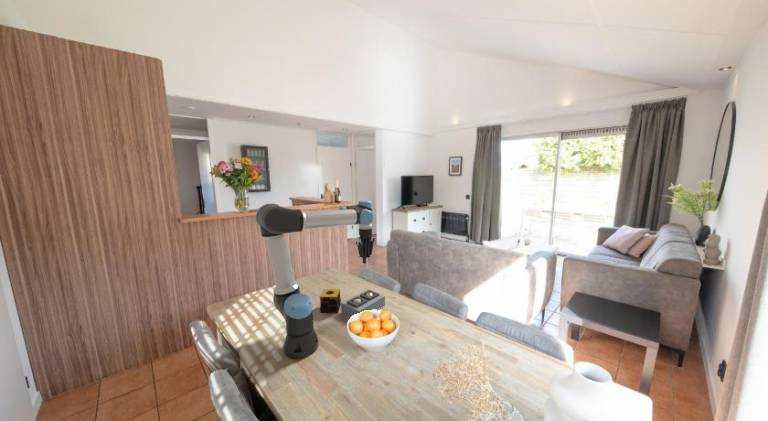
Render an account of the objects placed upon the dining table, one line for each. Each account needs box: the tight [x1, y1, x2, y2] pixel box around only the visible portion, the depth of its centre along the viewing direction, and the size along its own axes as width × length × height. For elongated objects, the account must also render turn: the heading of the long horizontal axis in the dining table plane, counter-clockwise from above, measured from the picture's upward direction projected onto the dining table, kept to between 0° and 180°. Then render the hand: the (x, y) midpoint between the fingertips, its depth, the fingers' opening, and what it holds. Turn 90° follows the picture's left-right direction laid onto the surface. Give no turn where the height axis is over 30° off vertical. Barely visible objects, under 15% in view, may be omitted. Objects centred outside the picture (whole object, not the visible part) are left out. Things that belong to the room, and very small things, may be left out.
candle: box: [319, 288, 342, 314], centre depth 156 cm, size 10×10×10 cm
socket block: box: [340, 289, 386, 318], centre depth 155 cm, size 21×14×7 cm, turn 140°
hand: (366, 268), depth 157 cm, fingers closed
